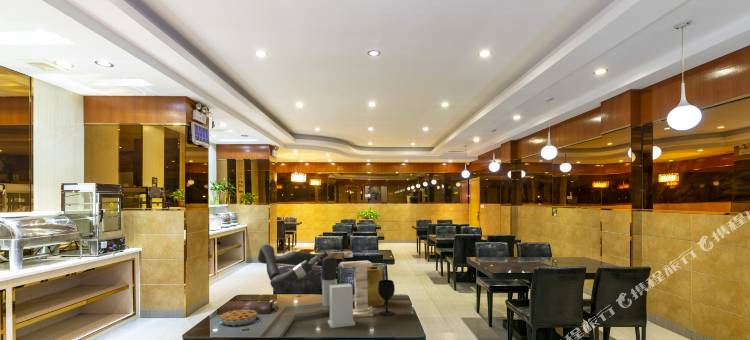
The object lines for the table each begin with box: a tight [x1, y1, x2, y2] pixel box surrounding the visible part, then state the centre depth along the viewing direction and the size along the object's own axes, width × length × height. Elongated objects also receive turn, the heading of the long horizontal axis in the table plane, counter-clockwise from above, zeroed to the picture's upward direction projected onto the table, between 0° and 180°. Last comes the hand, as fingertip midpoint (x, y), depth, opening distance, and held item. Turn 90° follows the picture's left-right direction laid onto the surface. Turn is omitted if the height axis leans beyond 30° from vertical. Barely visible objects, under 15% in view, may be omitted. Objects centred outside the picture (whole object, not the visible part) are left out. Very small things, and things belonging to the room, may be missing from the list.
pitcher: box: [367, 265, 385, 307], centre depth 282 cm, size 17×19×25 cm
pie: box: [219, 308, 259, 327], centre depth 249 cm, size 22×22×5 cm
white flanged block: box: [327, 282, 356, 329], centre depth 239 cm, size 10×14×22 cm
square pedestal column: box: [339, 259, 374, 319], centre depth 258 cm, size 12×18×32 cm, turn 107°
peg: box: [315, 250, 354, 259], centre depth 255 cm, size 22×6×3 cm, turn 107°
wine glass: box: [378, 279, 396, 317], centre depth 258 cm, size 10×10×20 cm
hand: (326, 253), depth 254 cm, fingers closed on peg, 3 cm apart
